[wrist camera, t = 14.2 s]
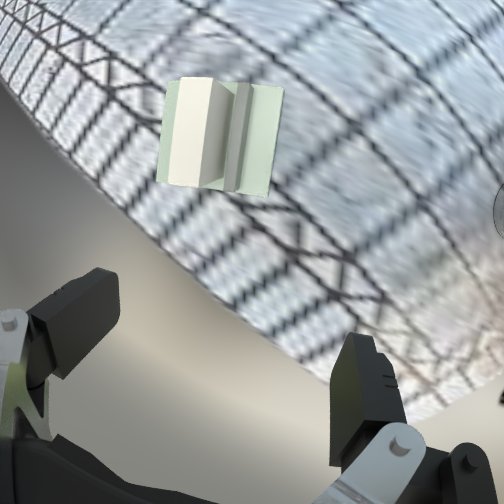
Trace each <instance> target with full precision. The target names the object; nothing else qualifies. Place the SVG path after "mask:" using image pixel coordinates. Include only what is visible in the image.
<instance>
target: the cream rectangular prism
mask: <svg viewBox="0 0 504 504" xmlns="http://www.w3.org/2000/svg"><path fill="white" fill-rule="evenodd" d="M234 97H235V94H233V93H232V92H231V91H230V90H228V89H227V88H226V87H224V86H223V85H222V84H221V83H219V82H218V81H217V80H215V79H214V78H205V77H181V80H180V86H179V92H178V99H177V106H176V113H175V120H174V128H173V136H172V145H171V154H170V164H169V175H168V184H173V185H181V186H188V187H195V188H199V187H202V186H204V185H206V184H209V183H211V182H214V181H216V180H219V179H221V178H223V176H224V168H225V160H226V153H227V145H228V138H229V131H230V124H231V117H232V110H233V103H234Z"/></svg>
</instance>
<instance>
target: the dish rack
mask: <svg viewBox="0 0 504 504" xmlns="http://www.w3.org/2000/svg"><path fill="white" fill-rule="evenodd" d="M219 83H221V84H222V85H223V86H224V87H226V88H227V89H228V90H230V91H231V92H232V93H233V94H235V97H234V103H233V110H232V117H231V124H230V131H229V138H228V145H227V153H226V160H225V168H224V176H223V178H221V179H219V180H216V181H214V182H211V183H209V184H206V185H204V186H202V187H203V188H210V189H217V190H223V191H228V192H236V193H243V194H249V195H255V196H261V197H266V198H267V196H268V193H269V186H270V180H271V173H272V167H273V161H274V154H275V148H276V141H277V135H278V128H279V122H280V115H281V108H282V102H283V95H284V88H280V87H273V86H264V85H255V84H250V83H244V82H238V83H233V82H219ZM179 86H180V80H175V81H168V86H167V92H166V99H165V105H164V113H163V120H162V128H161V137H160V146H159V156H158V166H157V178H156V181H157V182H165V183H168V175H169V164H170V154H171V145H172V136H173V128H174V120H175V113H176V106H177V99H178V92H179Z"/></svg>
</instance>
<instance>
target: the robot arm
mask: <svg viewBox="0 0 504 504" xmlns="http://www.w3.org/2000/svg"><path fill="white" fill-rule="evenodd" d="M494 220H495V225H496V228H497V230H498V232H499V234H500V235H501V236H502V237H503V238H504V185H503V186H502V188H501V189H500V191H499V193H498V195H497V198H496V201H495V206H494ZM119 316H120V300H119V282H118V276H117V274H116V273H114V272H111V271H108V270H105V269H102V268H98V267H97V268H95V269H93V270H92V271H90V272H89V273H87V274H86V275H84V276H83V277H80V278H77V279H74V280H71V281H70V282H68V283H67V284H65V285H64V286H62V287H61V289H58V290H56V291H55V292H54V293H53V294H51V295H49V296H48V297H46V298H45V299H43V300H42V301H41V302H39V303H38V304H37V305H35V306H34V307H32V308H31V309H30V310H28V311H27V312H24V311H23V310H20V309H7V310H4V311H1V312H0V504H218V503H214V502H210V501H207V500H203V499H200V498H196V497H193V496H190V495H187V494H184V493H181V492H177V491H171V490H163V489H157V488H151V487H146V486H140V485H135V484H131V483H128V482H126V481H124V480H123V479H121V478H120V477H119V476H117V475H116V474H115V473H114V472H112V471H111V470H110V469H109V468H107V467H106V466H105V465H104V464H103V463H102V462H100V461H99V460H98V459H97V458H96V457H95V456H94V455H92V454H91V453H89V452H88V451H86V450H84V449H82V448H81V447H79V446H77V445H75V444H74V443H72V442H70V441H69V440H67V439H66V438H64V437H62V436H60V435H59V434H57V436H56V437H55V438H54V439H53V438H52V435H51V432H50V427H49V380H48V376H49V375H50V374H51V373H52V374H54V375H56V376H57V377H59V378H61V379H62V380H63V379H65V377H66V376H67V375H68V374H69V373H70V372H71V371H72V370H73V369H74V368H75V367H76V366H77V365H78V363H80V361H81V360H82V359H83V358H84V357H85V356H86V355H87V354H88V353H89V352H90V351H91V350H92V349H93V348H94V347H95V346H96V345H97V344H98V342H100V341H101V340H102V338H104V336H105V335H106V334H107V333H108V332H109V331H110V330H111V329H112V328H113V327H114V326H115V325H116V323H117V322H118V319H119ZM329 466H334V467H341V476H340V477H339V478H338V479H337V480H336V481H335V482H334V483H333V484H332V485H330V486H329V487H328V488H327V489H326V491H324V492H323V493H322V494H321V495H320V496H319V497H318V498H317V499H316V500H315V501H314V502H312V503H311V504H498V500H497V495H496V490H495V485H494V481H493V477H492V472H491V469H490V465H489V461H488V458H487V456H486V454H485V452H484V451H483V450H482V449H481V448H480V447H479V446H477V445H475V444H473V443H461V444H459V445H458V446H456V447H455V448H454V449H453V450H452V451H451V452H450V453H449V452H445V451H441V450H437V449H434V448H430V447H427V446H426V444H425V441H424V438H423V436H422V435H421V434H420V433H419V432H418V431H417V430H416V429H415V428H414V427H412V426H410V425H408V424H407V421H406V416H405V412H404V408H403V404H402V400H401V396H400V392H399V389H398V384H397V380H396V379H395V373H394V370H393V366H392V364H391V363H390V361H389V360H388V359H387V357H386V356H385V355H384V353H377V351H376V347H375V343H374V339H373V337H372V336H369V335H363V334H358V333H353V332H350V333H349V334H348V335H347V337H346V340H345V342H344V344H343V347H342V349H341V351H340V354H339V356H338V358H337V361H336V363H335V365H334V368H333V370H332V374H331V378H330V462H329Z"/></svg>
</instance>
